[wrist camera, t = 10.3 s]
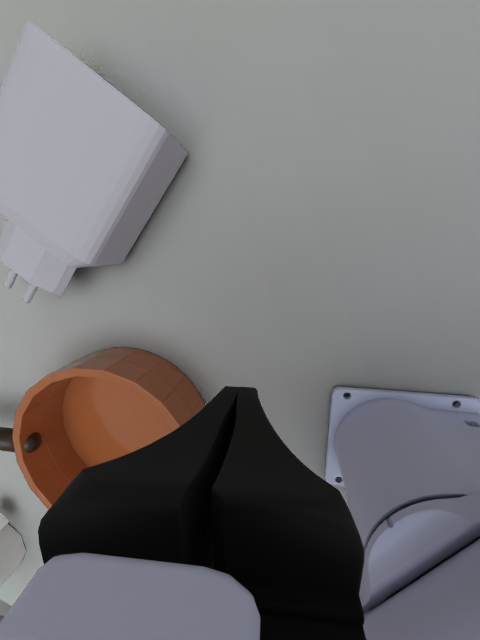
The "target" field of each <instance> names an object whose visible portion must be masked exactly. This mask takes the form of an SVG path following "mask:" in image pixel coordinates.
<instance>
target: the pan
mask: <svg viewBox="0 0 480 640" xmlns="http://www.w3.org/2000/svg"><path fill="white" fill-rule="evenodd" d="M204 407H205V403H204V401H203V399H202V397H201V395H200V394H199V392H198V391H197V389H196V388H195V386H194V385H193V383H192V382H191V381H190V380H189V379H188V378H187V377H186V375H184V374H183V373H182V372H181V371H180V370H179V369H178V368H177V367H175V366H174V365H172V364H171V363H169V362H168V361H166V360H165V359H163V358H161V357H159V356H157V355H154V354H152V353H149V352H147V351H143V350H139V349H134V348H109V349H104V350H101V351H97V352H95V353H92V354H89V355H86V356H84V357H82V358H80V359H78V360H76V361H74V362H72V363H70V364H68V365H66V366H64V367H62V368H60V369H58V370H56V371H54V372H52V373H50V374H48V375H47V376H45V377H44V378H43V379H41V380H40V381H39V382H38V383H36V384H35V385H34V386H32V387H31V388H30V389H29V390H28V391H27V392H26V394H25V395H24V397H23V399H22V401H21V403H20V405H19V406H18V408H17V410H16V413H15V419H14V427H13V435H12V439H13V444H14V449H15V454H16V459H17V462H18V465H19V467H20V469H21V471H22V473H23V475H24V477H25V479H26V481H27V483H28V485H29V487H30V489H31V490H32V491H33V492H34V493H35V495H36V496H37V497H38V498H39V499H40V501H41V502H42V503H43V504H44V505H45V506H46V508H47V509H50V508H51V506H52V505H53V504H54V503H55V501H56V500H57V499H58V498H59V497H60V495H61V494H62V493H63V492H64V490H65V489H66V488H67V487H68V486H69V484H70V483H71V482H72V481H73V480H74V479H75V477H76V476H77V475H78V474H79V473H80V472H81V471H82V470H83V469H85V468H88V467H91V466H95V465H98V464H101V463H104V462H107V461H110V460H113V459H116V458H118V457H121V456H124V455H126V454H129V453H131V452H133V451H136V450H138V449H140V448H142V447H145V446H147V445H149V444H151V443H153V442H154V441H156V440H158V439H160V438H162V437H164V436H166V435H167V434H169V433H171V432H172V431H174V430H175V429H177V428H179V427H180V426H182V425H183V424H184V423H186V422H187V421H188V420H190V419H191V418H192V417H193V416H195V415H196V414H197V413H198V412H199V411H201V410H202V409H203V408H204ZM34 432H38V433H40V435H41V436H42V443H41V445H40V447H39V448H38V449H37V450H36V451H34V452H32V453H27V452H26V451H25V449H24V445H25V442H26V440H27V438H28V437H29V436H30V435H31V434H32V433H34Z"/></svg>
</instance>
